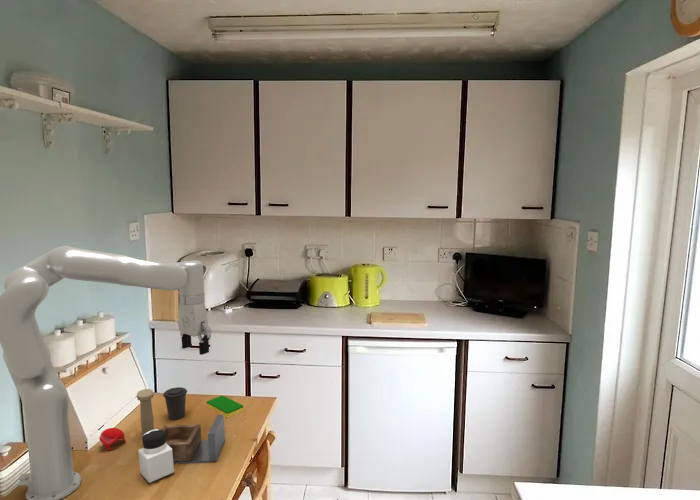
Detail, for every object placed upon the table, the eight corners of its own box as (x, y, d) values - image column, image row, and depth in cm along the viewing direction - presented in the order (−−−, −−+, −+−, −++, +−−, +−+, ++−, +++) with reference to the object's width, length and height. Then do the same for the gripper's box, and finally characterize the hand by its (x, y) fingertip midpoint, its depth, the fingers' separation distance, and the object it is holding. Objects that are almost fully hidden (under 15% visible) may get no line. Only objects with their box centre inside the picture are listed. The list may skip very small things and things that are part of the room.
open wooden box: (151, 462, 134) (150, 445, 134) (165, 440, 146) (164, 425, 145) (190, 460, 135) (189, 444, 134) (201, 439, 146) (200, 424, 145)
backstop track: (143, 464, 134) (141, 436, 133) (158, 443, 146) (156, 416, 144) (216, 462, 135) (214, 433, 134) (225, 441, 147) (223, 414, 145)
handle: (141, 442, 146) (138, 398, 144) (139, 433, 152) (135, 391, 150) (157, 438, 149) (154, 395, 147) (154, 429, 154) (151, 387, 152)
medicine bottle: (174, 472, 129) (171, 431, 128) (149, 483, 124) (145, 441, 123) (165, 462, 134) (161, 424, 133) (140, 473, 130) (136, 433, 129)
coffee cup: (170, 410, 167) (168, 385, 166) (192, 411, 167) (190, 385, 166) (160, 422, 159) (158, 394, 158) (183, 422, 159) (181, 395, 158)
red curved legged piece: (101, 446, 139) (119, 431, 141) (93, 434, 142) (111, 419, 145) (115, 456, 144) (131, 441, 147) (107, 444, 148) (123, 430, 150)
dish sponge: (227, 418, 162) (227, 412, 161) (206, 407, 171) (205, 401, 170) (244, 411, 167) (243, 405, 167) (222, 400, 176) (222, 394, 176)
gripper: (167, 297, 148) (170, 348, 150) (198, 305, 138) (201, 359, 140) (187, 293, 154) (190, 342, 156) (218, 300, 143) (221, 352, 146)
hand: (195, 350), depth 148 cm, fingers open, 9 cm apart
